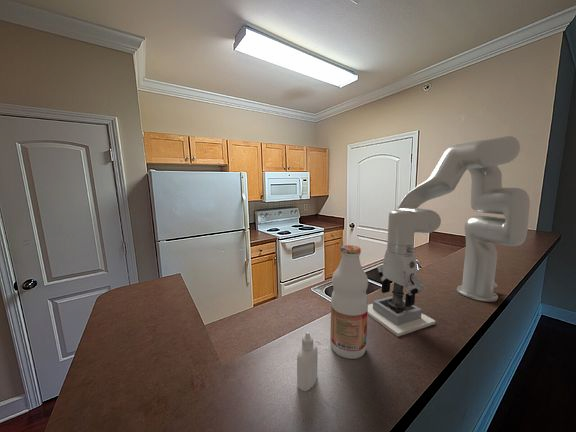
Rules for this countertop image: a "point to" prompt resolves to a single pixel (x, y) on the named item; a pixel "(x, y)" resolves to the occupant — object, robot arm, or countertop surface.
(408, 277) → the robot arm
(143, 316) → the countertop surface
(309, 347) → the eye dropper bottle
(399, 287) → the stone chess piece
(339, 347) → the fruit juice
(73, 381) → the countertop surface
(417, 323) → the socket
